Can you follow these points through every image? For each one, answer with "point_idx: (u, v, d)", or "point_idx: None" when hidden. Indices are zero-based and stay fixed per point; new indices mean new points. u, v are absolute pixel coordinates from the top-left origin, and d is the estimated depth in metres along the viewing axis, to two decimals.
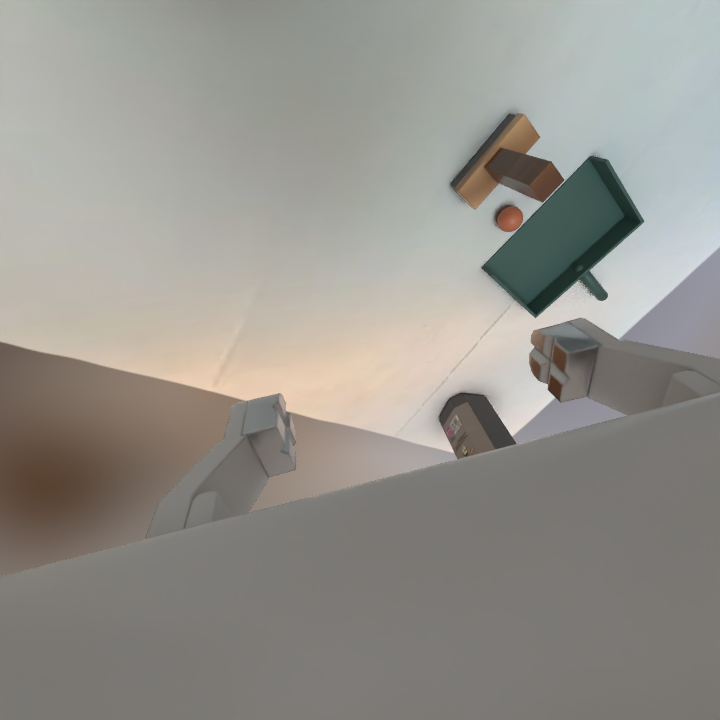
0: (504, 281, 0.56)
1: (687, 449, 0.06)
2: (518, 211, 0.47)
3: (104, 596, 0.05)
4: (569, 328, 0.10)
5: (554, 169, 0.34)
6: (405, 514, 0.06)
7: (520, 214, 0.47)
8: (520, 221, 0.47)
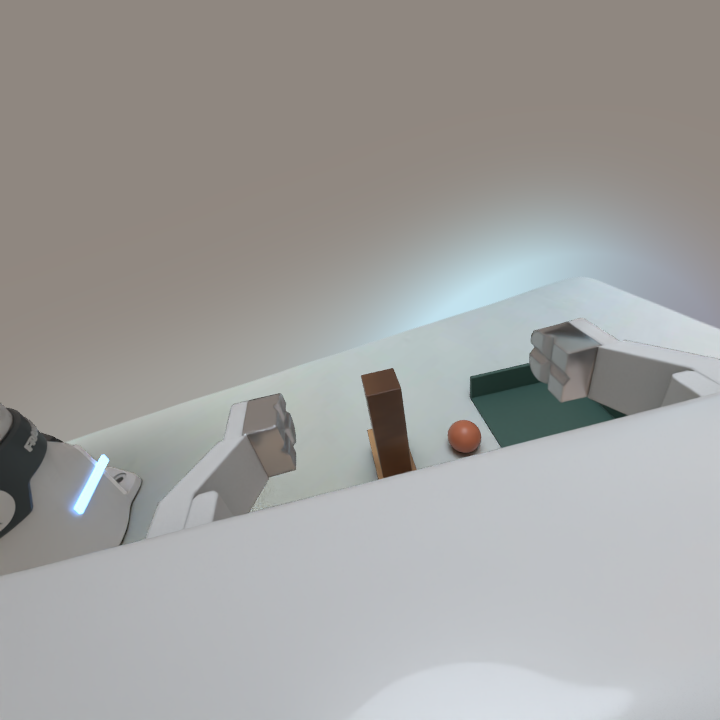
0: None
1: (687, 449, 0.06)
2: None
3: (104, 596, 0.05)
4: (569, 328, 0.10)
5: (371, 373, 0.28)
6: (405, 514, 0.06)
7: None
8: None
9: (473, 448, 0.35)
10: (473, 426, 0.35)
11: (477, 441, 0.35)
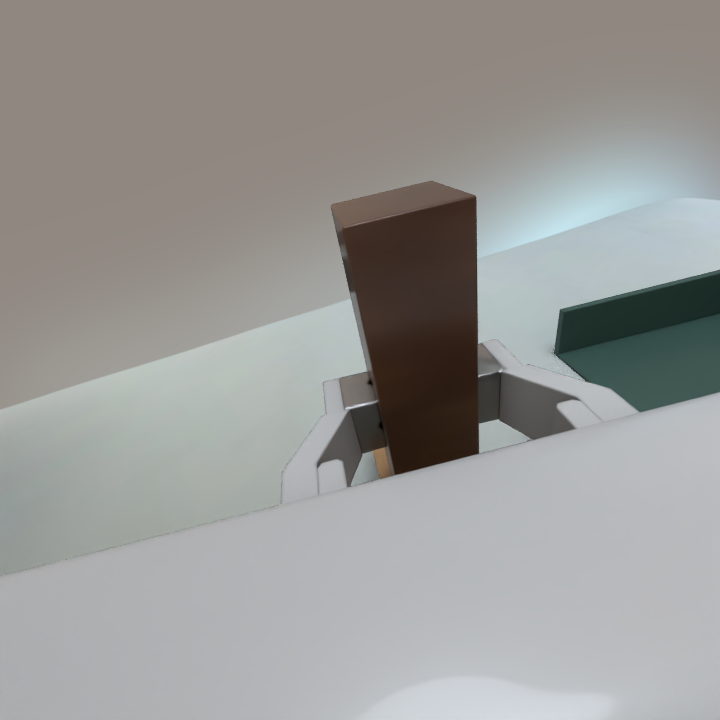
0: None
1: (687, 449, 0.06)
2: None
3: (104, 596, 0.05)
4: (480, 350, 0.10)
5: (365, 196, 0.09)
6: (405, 514, 0.06)
7: None
8: None
9: None
10: None
11: None
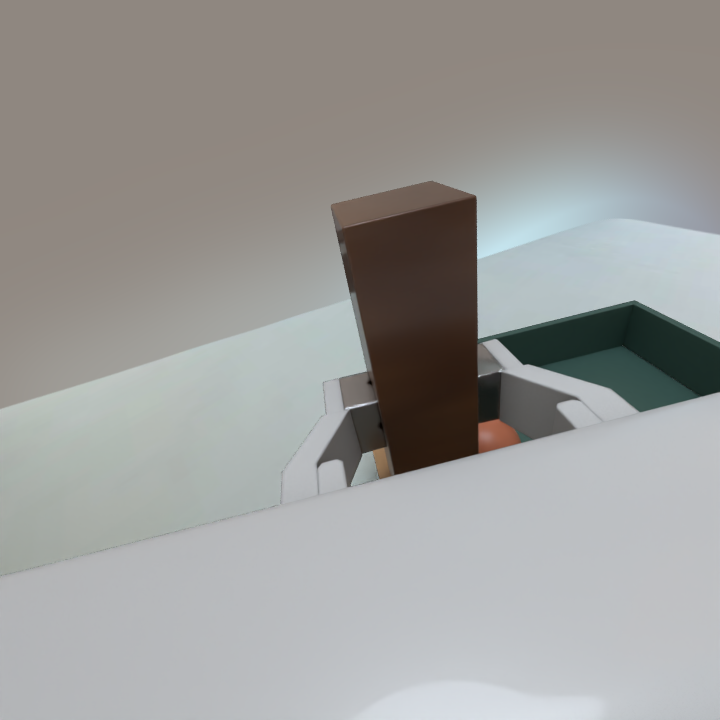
0: None
1: (687, 449, 0.06)
2: None
3: (104, 596, 0.05)
4: (480, 350, 0.10)
5: (365, 196, 0.09)
6: (405, 515, 0.06)
7: None
8: None
9: None
10: None
11: None
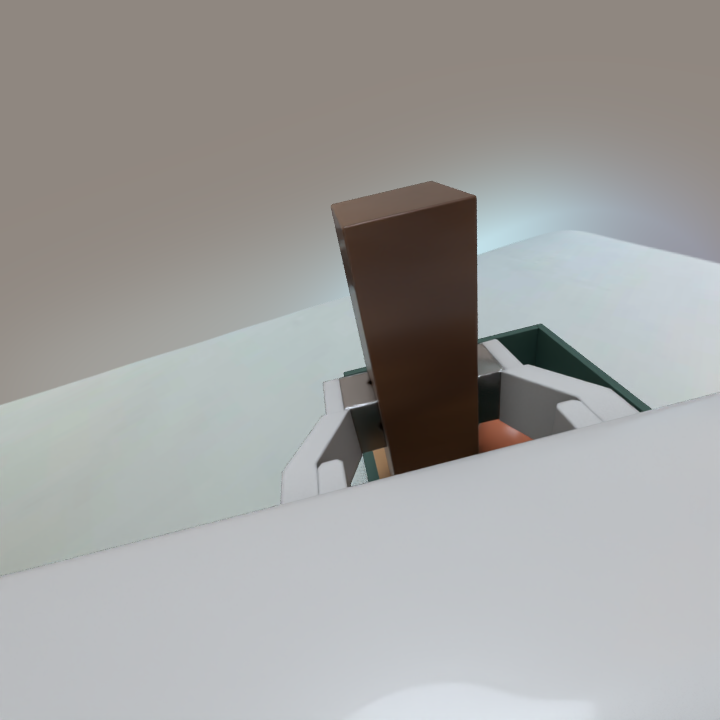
0: None
1: (687, 449, 0.06)
2: None
3: (104, 596, 0.05)
4: (480, 350, 0.10)
5: (365, 196, 0.09)
6: (405, 514, 0.06)
7: None
8: None
9: None
10: None
11: None
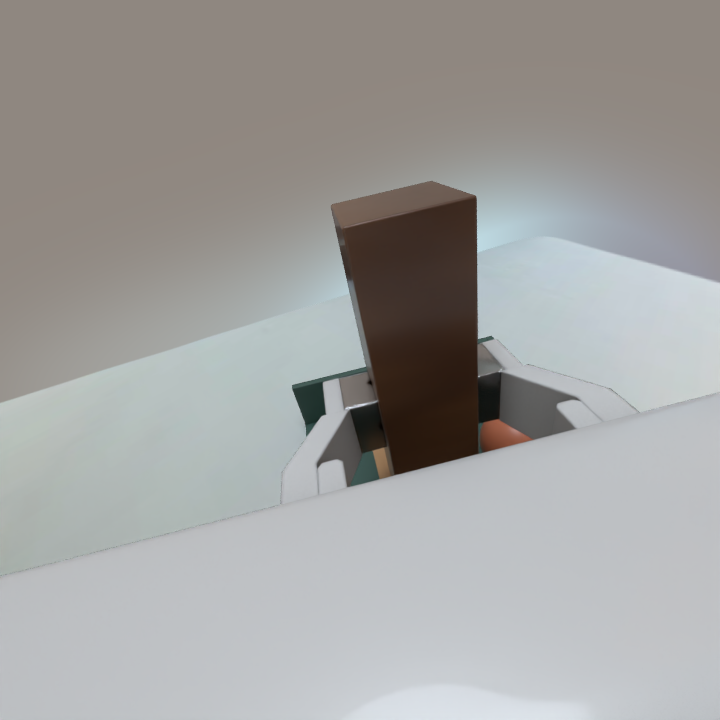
0: None
1: (687, 449, 0.06)
2: None
3: (104, 596, 0.05)
4: (480, 350, 0.10)
5: None
6: (405, 514, 0.06)
7: None
8: None
9: None
10: None
11: None
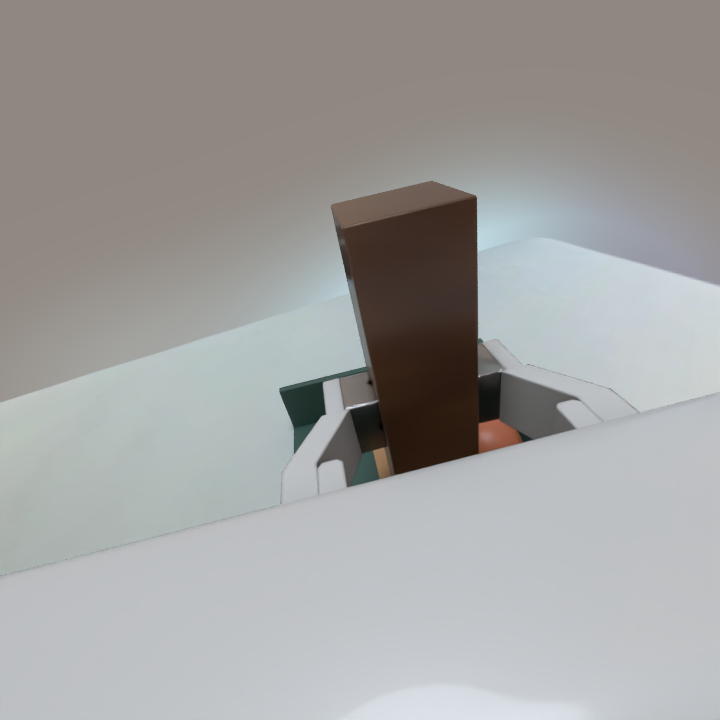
0: None
1: (687, 449, 0.06)
2: None
3: (104, 596, 0.05)
4: (480, 350, 0.10)
5: None
6: (405, 514, 0.06)
7: None
8: None
9: None
10: None
11: None
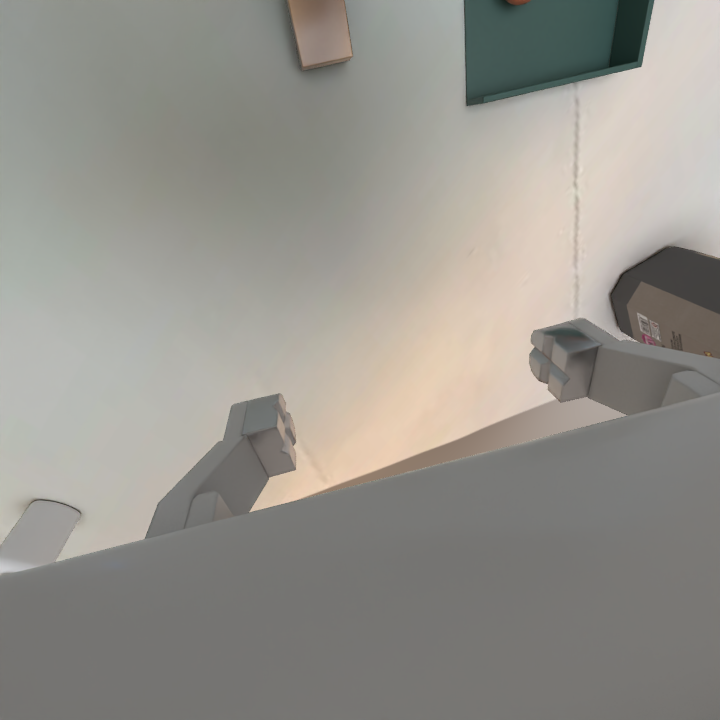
0: (526, 79, 0.29)
1: (687, 449, 0.06)
2: None
3: (104, 596, 0.05)
4: (569, 328, 0.10)
5: None
6: (405, 515, 0.06)
7: None
8: None
9: None
10: None
11: None
